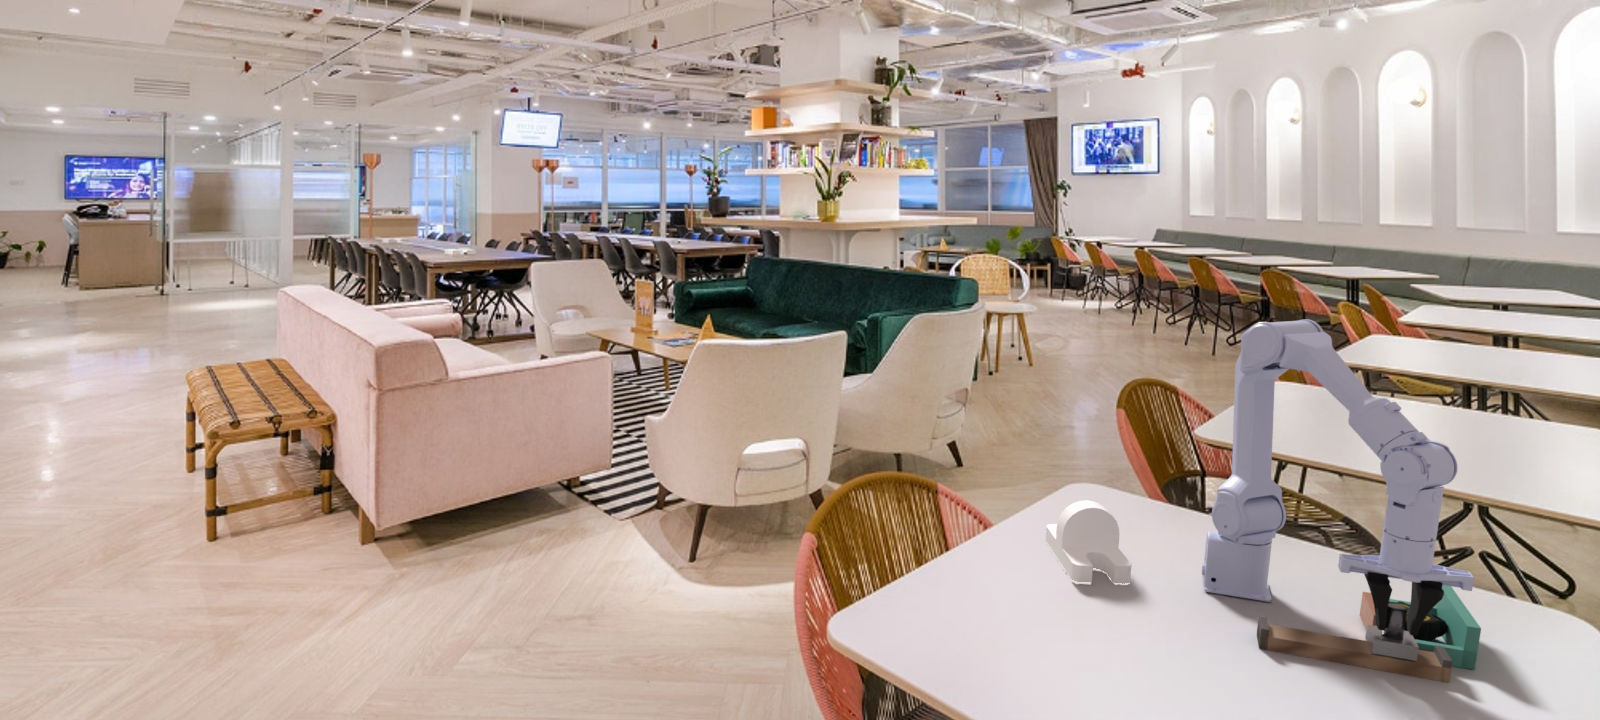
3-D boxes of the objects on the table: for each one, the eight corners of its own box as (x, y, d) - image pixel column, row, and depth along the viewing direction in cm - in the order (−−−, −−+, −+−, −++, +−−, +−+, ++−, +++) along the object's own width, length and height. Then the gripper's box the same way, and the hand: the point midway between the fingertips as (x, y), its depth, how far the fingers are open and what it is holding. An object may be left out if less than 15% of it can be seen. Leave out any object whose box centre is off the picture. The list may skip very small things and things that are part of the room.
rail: (1259, 648, 121) (1261, 628, 120) (1256, 635, 125) (1258, 615, 124) (1449, 682, 113) (1452, 661, 112) (1440, 667, 116) (1443, 646, 116)
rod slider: (1370, 666, 116) (1377, 611, 114) (1347, 613, 130) (1354, 564, 129) (1414, 674, 114) (1422, 618, 112) (1387, 619, 128) (1393, 569, 127)
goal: (1386, 654, 119) (1391, 614, 118) (1365, 610, 132) (1370, 573, 131) (1474, 670, 116) (1481, 628, 114) (1444, 623, 128) (1450, 585, 127)
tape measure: (1447, 642, 123) (1451, 617, 122) (1416, 651, 120) (1419, 626, 120) (1399, 620, 129) (1402, 597, 128) (1368, 629, 127) (1371, 605, 126)
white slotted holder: (1096, 543, 158) (1100, 486, 156) (1132, 586, 141) (1137, 523, 139) (1043, 542, 159) (1047, 486, 156) (1072, 586, 141) (1077, 523, 139)
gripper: (1350, 535, 112) (1338, 632, 115) (1487, 553, 107) (1471, 655, 109) (1341, 517, 119) (1329, 609, 121) (1469, 533, 113) (1454, 629, 116)
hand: (1395, 629), depth 116 cm, fingers open, 3 cm apart
